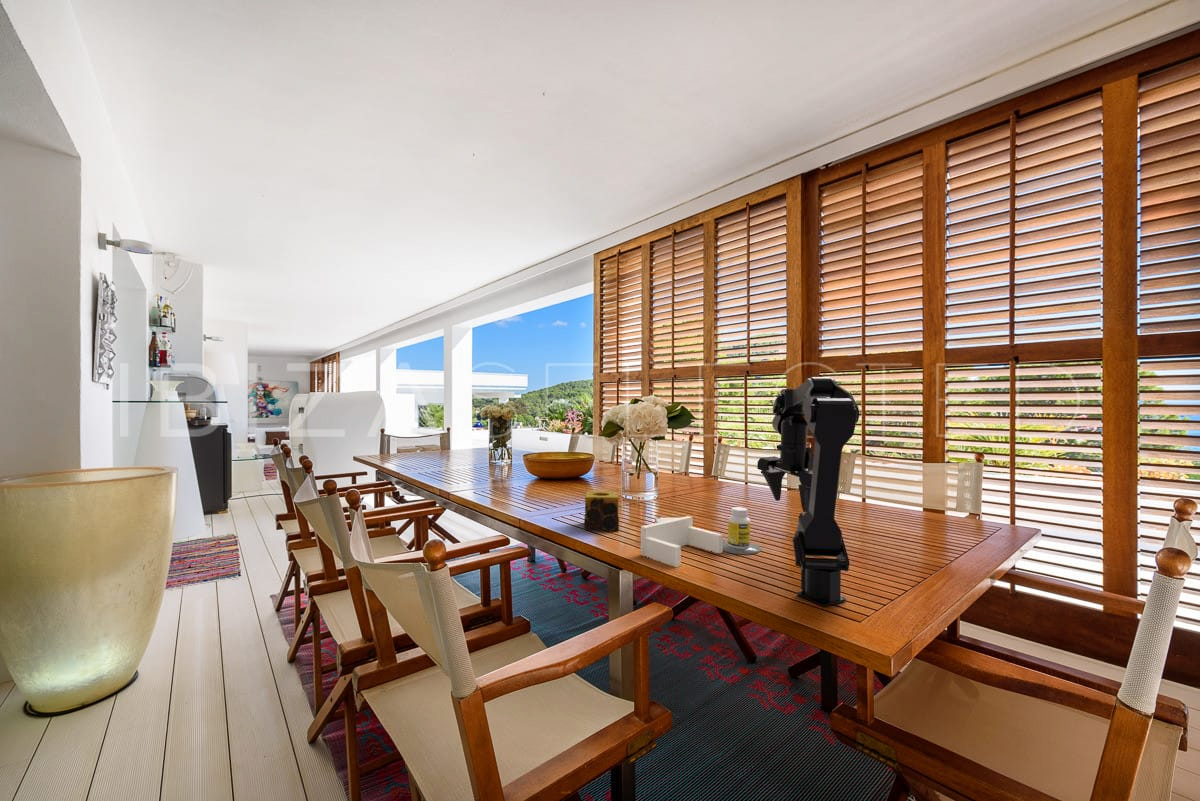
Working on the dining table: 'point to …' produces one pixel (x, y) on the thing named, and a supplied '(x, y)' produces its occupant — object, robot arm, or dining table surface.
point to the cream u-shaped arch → (676, 540)
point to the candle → (601, 511)
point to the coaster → (751, 550)
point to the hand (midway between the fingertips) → (791, 506)
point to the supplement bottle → (739, 529)
